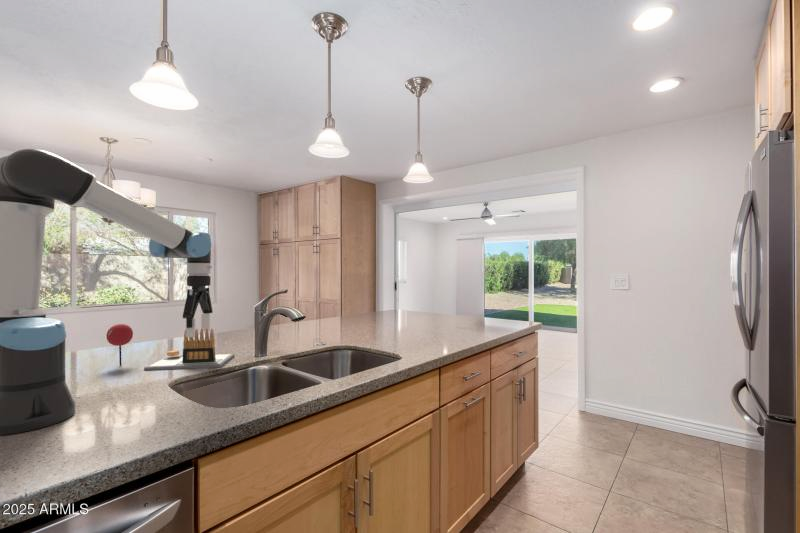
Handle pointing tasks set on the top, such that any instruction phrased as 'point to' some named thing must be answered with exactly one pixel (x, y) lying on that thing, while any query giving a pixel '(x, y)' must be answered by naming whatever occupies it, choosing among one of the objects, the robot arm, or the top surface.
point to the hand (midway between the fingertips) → (198, 333)
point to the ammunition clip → (199, 348)
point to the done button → (173, 353)
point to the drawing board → (176, 363)
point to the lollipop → (119, 336)
